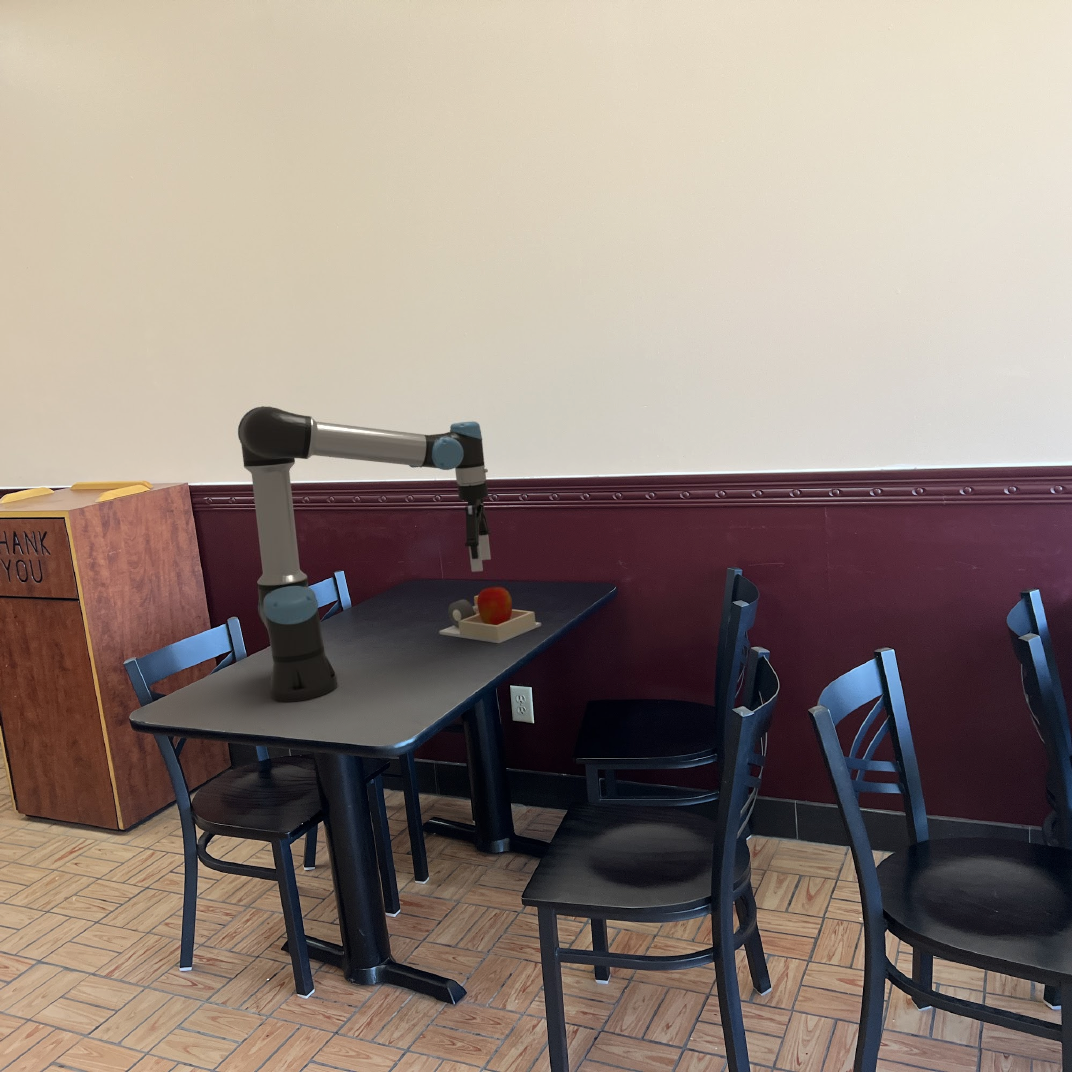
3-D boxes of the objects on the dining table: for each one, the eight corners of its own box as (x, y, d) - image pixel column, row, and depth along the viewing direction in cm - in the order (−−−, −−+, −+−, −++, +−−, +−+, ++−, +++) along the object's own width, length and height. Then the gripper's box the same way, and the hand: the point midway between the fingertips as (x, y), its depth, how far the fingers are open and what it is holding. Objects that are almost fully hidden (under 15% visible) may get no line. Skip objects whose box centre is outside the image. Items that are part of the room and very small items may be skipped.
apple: (507, 634, 248) (502, 588, 245) (474, 634, 250) (469, 589, 248) (519, 623, 256) (514, 579, 254) (487, 624, 259) (482, 580, 257)
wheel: (467, 629, 255) (464, 603, 254) (449, 626, 260) (446, 601, 259) (489, 621, 261) (486, 595, 260) (471, 618, 266) (468, 593, 265)
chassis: (498, 643, 243) (495, 616, 242) (439, 634, 258) (436, 608, 257) (541, 625, 255) (538, 600, 254) (482, 617, 270) (478, 593, 268)
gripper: (478, 488, 233) (488, 574, 237) (493, 475, 258) (502, 553, 261) (448, 491, 234) (458, 577, 238) (465, 478, 259) (475, 556, 262)
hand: (481, 565), depth 250 cm, fingers open, 13 cm apart
